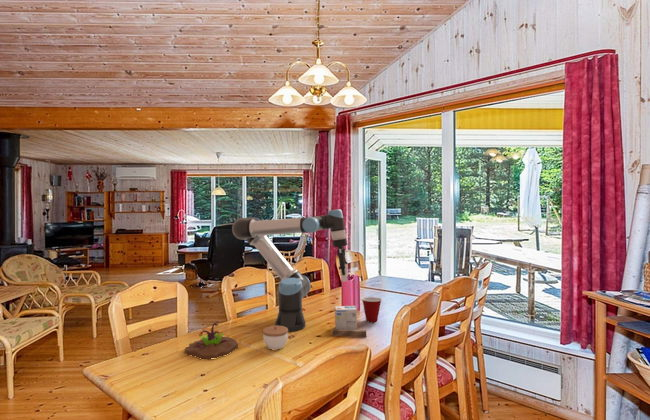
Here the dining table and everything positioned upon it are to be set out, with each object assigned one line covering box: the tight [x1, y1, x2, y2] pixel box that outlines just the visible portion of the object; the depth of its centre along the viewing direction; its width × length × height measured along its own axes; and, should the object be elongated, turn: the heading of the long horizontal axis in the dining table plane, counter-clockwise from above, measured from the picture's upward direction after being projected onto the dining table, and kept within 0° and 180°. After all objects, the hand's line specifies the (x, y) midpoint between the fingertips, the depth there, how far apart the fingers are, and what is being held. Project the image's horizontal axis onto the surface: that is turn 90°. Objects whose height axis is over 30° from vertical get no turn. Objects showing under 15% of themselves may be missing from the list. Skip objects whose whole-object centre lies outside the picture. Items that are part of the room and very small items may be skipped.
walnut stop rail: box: [331, 328, 367, 338], centre depth 169 cm, size 16×2×2 cm, turn 84°
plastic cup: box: [361, 296, 383, 323], centre depth 191 cm, size 11×11×12 cm
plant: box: [184, 322, 239, 360], centre depth 154 cm, size 20×20×11 cm
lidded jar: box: [262, 325, 289, 351], centre depth 156 cm, size 11×11×9 cm
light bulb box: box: [334, 305, 358, 330], centre depth 178 cm, size 11×7×11 cm, turn 92°
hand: (345, 278), depth 189 cm, fingers open, 13 cm apart
